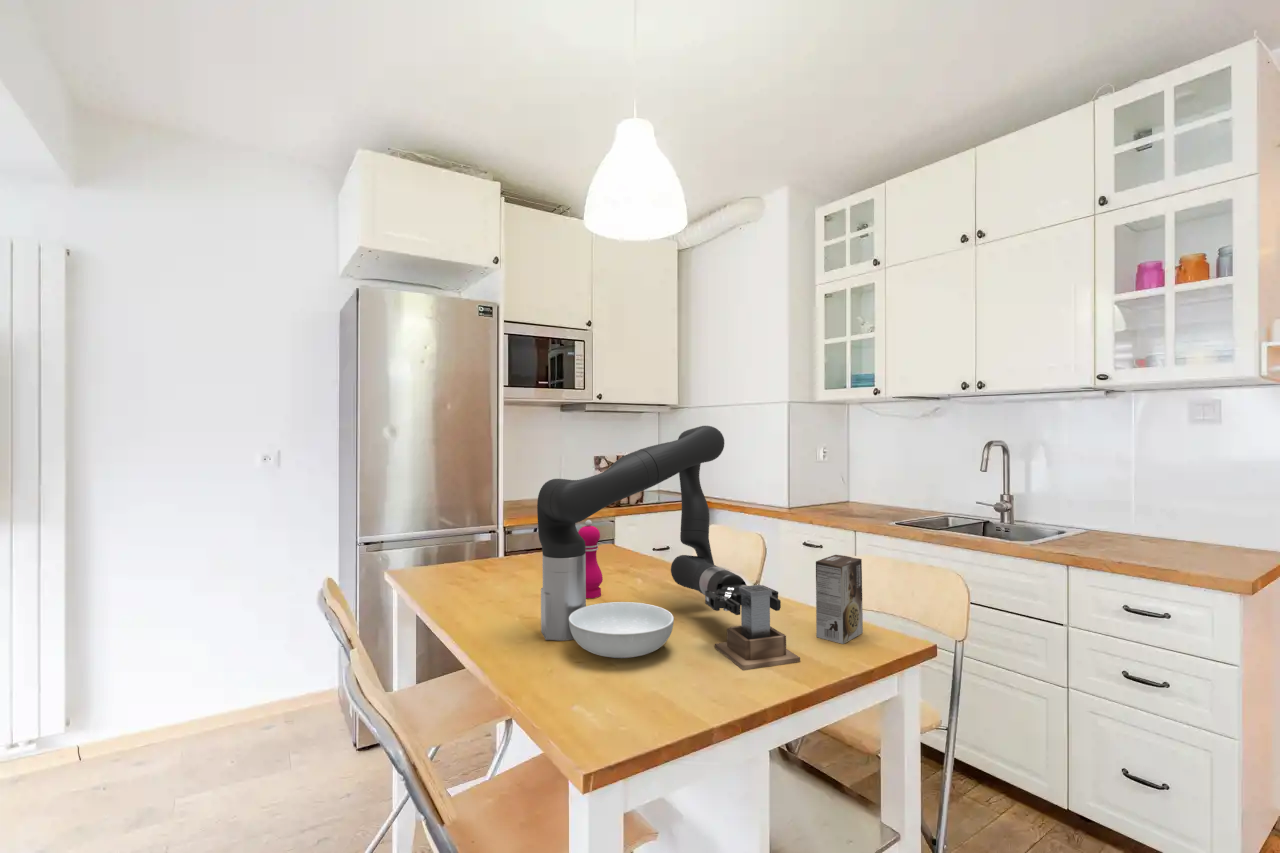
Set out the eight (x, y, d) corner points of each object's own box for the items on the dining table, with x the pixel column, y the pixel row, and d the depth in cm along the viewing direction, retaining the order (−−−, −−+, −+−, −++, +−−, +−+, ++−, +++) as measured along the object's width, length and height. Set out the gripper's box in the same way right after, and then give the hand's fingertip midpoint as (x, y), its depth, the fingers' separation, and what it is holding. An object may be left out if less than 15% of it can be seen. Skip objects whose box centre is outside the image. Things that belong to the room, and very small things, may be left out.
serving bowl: (642, 679, 108) (641, 640, 108) (547, 658, 118) (547, 622, 118) (691, 642, 126) (691, 609, 126) (605, 627, 136) (605, 596, 136)
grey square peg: (751, 656, 116) (750, 592, 116) (739, 647, 120) (739, 586, 120) (772, 652, 117) (771, 590, 117) (760, 644, 122) (759, 584, 122)
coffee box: (835, 627, 135) (835, 553, 135) (863, 633, 130) (863, 558, 130) (814, 637, 129) (814, 560, 129) (843, 644, 124) (843, 565, 124)
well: (742, 669, 111) (742, 645, 111) (714, 647, 123) (714, 625, 123) (800, 661, 115) (800, 638, 115) (767, 640, 126) (767, 619, 126)
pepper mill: (601, 599, 158) (601, 522, 158) (573, 599, 158) (573, 522, 158) (603, 591, 165) (603, 517, 165) (577, 591, 166) (576, 518, 166)
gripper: (691, 572, 131) (725, 591, 115) (751, 567, 135) (791, 585, 120) (692, 607, 131) (725, 631, 115) (751, 601, 135) (791, 623, 120)
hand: (758, 607), depth 118 cm, fingers open, 8 cm apart
